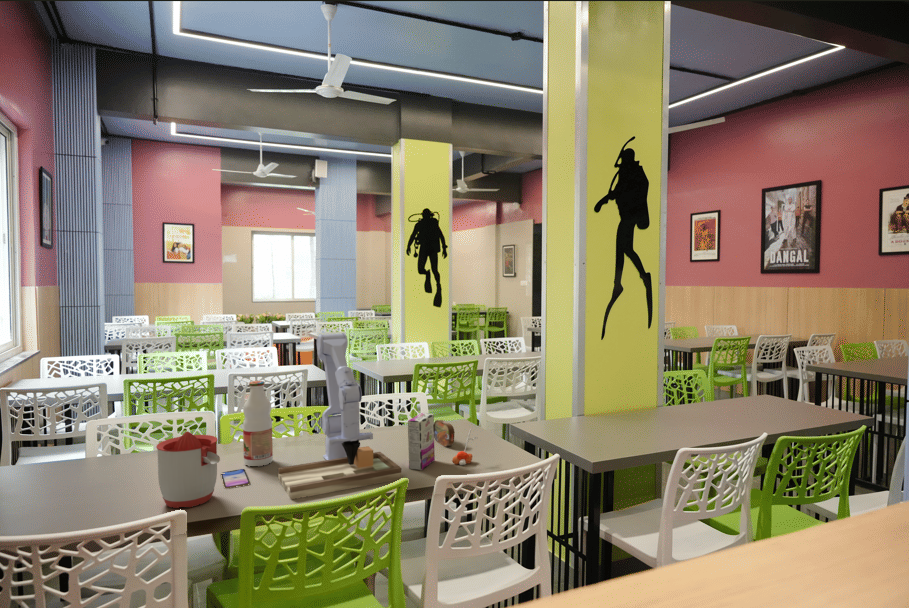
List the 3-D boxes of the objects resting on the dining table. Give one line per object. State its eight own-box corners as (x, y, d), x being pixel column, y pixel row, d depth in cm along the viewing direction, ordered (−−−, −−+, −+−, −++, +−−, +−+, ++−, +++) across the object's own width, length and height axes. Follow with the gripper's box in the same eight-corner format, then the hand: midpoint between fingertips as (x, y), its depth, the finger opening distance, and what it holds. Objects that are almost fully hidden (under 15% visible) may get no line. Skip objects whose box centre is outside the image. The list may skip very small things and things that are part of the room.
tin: (432, 439, 218) (432, 417, 217) (439, 438, 219) (439, 417, 219) (448, 449, 204) (448, 426, 204) (456, 448, 205) (455, 425, 205)
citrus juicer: (197, 516, 147) (195, 441, 146) (144, 509, 152) (142, 437, 151) (235, 494, 162) (234, 426, 161) (186, 488, 167) (184, 422, 166)
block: (353, 463, 183) (353, 448, 182) (368, 461, 185) (368, 446, 185) (358, 467, 178) (358, 452, 178) (373, 465, 180) (373, 450, 180)
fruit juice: (264, 468, 185) (262, 384, 184) (238, 466, 186) (236, 384, 185) (277, 459, 194) (276, 379, 193) (252, 457, 195) (251, 379, 194)
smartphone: (224, 490, 166) (224, 487, 166) (220, 475, 179) (220, 472, 179) (251, 485, 169) (250, 482, 169) (244, 471, 183) (244, 468, 183)
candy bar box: (421, 459, 193) (421, 412, 192) (435, 460, 191) (434, 413, 190) (407, 469, 182) (407, 420, 182) (421, 471, 181) (421, 421, 180)
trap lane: (278, 478, 174) (278, 467, 174) (380, 461, 190) (380, 451, 190) (290, 499, 157) (290, 487, 157) (401, 478, 173) (401, 467, 173)
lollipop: (481, 464, 187) (481, 429, 186) (454, 467, 184) (454, 431, 184) (475, 459, 193) (475, 425, 192) (449, 461, 190) (449, 427, 189)
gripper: (331, 428, 172) (332, 471, 173) (375, 422, 179) (376, 463, 179) (325, 423, 178) (326, 464, 179) (368, 417, 185) (369, 457, 186)
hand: (351, 463), depth 180 cm, fingers closed
